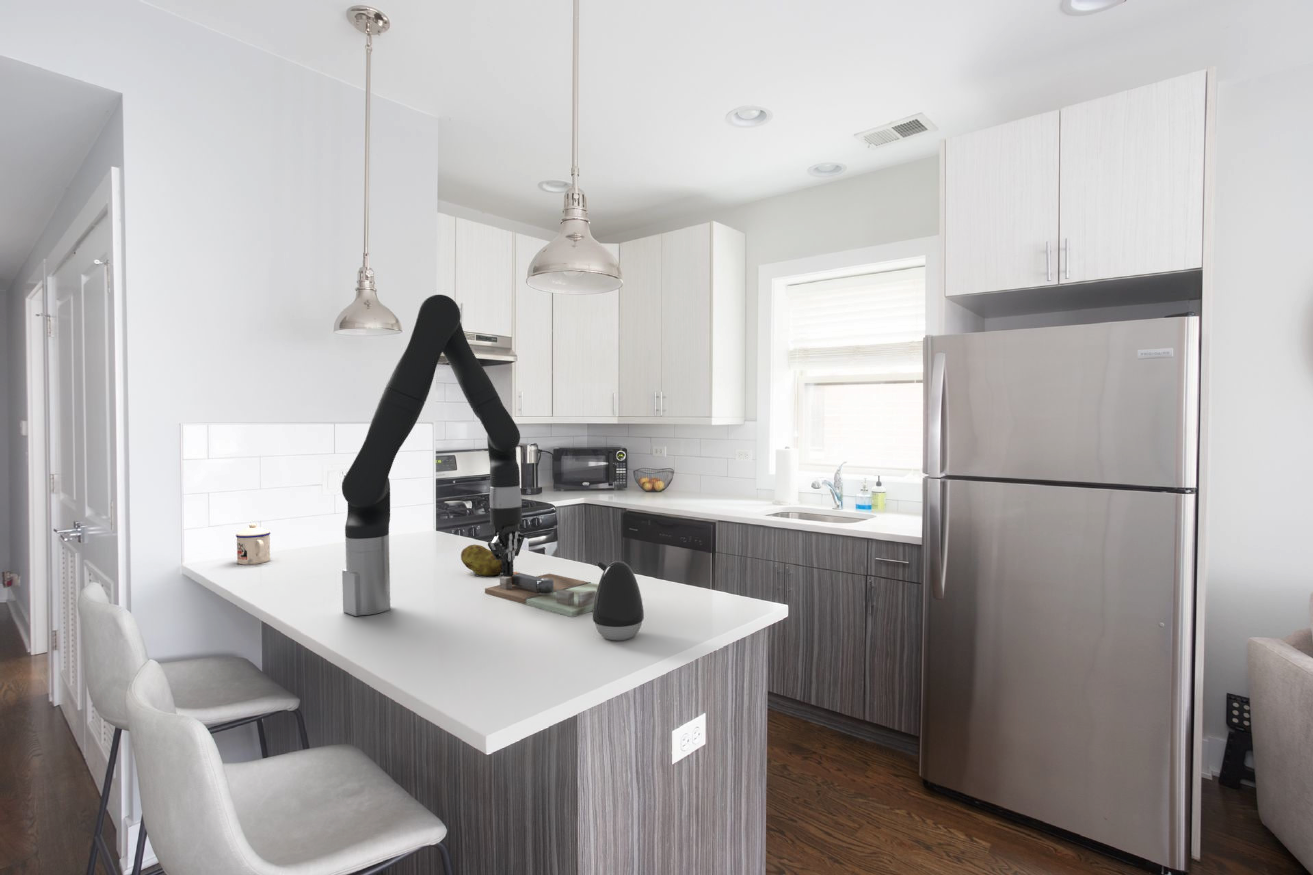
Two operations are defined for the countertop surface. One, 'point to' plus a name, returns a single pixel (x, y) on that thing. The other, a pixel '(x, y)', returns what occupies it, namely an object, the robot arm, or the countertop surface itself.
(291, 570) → the countertop surface
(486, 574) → the potato
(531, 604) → the board
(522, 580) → the arm
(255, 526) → the teacup with lid
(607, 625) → the pump dispenser
